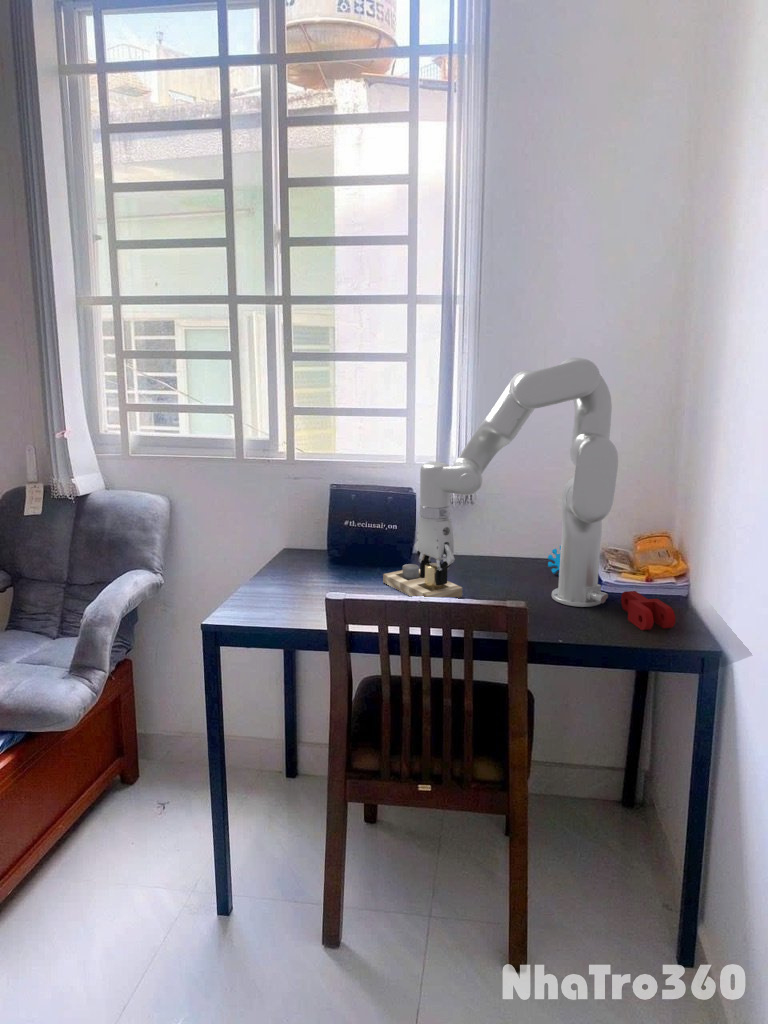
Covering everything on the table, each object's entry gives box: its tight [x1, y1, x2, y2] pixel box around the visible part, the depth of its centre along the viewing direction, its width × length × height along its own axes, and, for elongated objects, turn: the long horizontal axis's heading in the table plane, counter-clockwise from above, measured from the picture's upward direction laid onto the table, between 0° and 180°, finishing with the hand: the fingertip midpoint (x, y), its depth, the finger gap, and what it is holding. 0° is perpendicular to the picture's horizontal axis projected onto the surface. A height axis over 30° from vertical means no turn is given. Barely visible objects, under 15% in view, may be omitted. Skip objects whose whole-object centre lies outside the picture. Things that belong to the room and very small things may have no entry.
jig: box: [382, 563, 463, 599], centre depth 192 cm, size 20×11×5 cm, turn 33°
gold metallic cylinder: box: [425, 562, 442, 591], centre depth 188 cm, size 4×4×8 cm
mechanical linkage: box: [620, 590, 676, 631], centre depth 173 cm, size 16×7×5 cm, turn 10°
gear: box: [547, 545, 561, 576], centre depth 206 cm, size 11×6×10 cm
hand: (433, 580), depth 188 cm, fingers open, 6 cm apart
